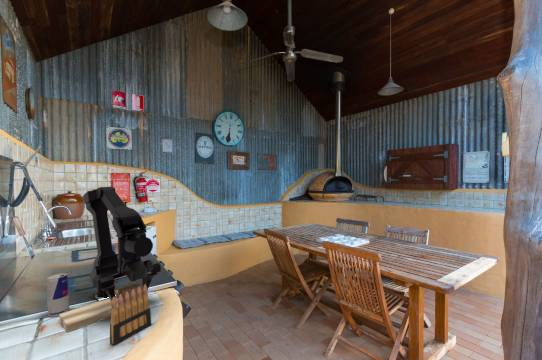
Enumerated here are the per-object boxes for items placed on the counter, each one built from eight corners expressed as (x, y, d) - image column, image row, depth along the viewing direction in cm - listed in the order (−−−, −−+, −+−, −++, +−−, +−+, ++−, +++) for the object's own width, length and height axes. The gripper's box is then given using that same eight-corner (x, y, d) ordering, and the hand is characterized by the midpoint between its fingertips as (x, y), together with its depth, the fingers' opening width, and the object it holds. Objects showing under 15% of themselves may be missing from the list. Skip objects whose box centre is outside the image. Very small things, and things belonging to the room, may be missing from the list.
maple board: (59, 320, 79) (59, 313, 79) (135, 294, 96) (134, 289, 96) (67, 332, 73) (67, 325, 73) (147, 302, 90) (147, 296, 89)
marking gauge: (108, 305, 88) (107, 282, 88) (127, 299, 93) (126, 276, 93) (123, 317, 80) (122, 291, 80) (143, 309, 84) (142, 285, 84)
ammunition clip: (113, 346, 66) (111, 299, 66) (109, 344, 67) (107, 297, 67) (151, 325, 75) (150, 283, 75) (147, 323, 76) (146, 282, 76)
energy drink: (70, 312, 84) (69, 275, 84) (49, 319, 81) (47, 280, 81) (67, 307, 88) (66, 271, 88) (46, 313, 84) (45, 276, 84)
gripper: (104, 264, 71) (106, 321, 72) (168, 248, 86) (170, 296, 86) (91, 257, 79) (93, 309, 79) (152, 244, 93) (154, 288, 93)
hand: (130, 300), depth 84 cm, fingers open, 9 cm apart
